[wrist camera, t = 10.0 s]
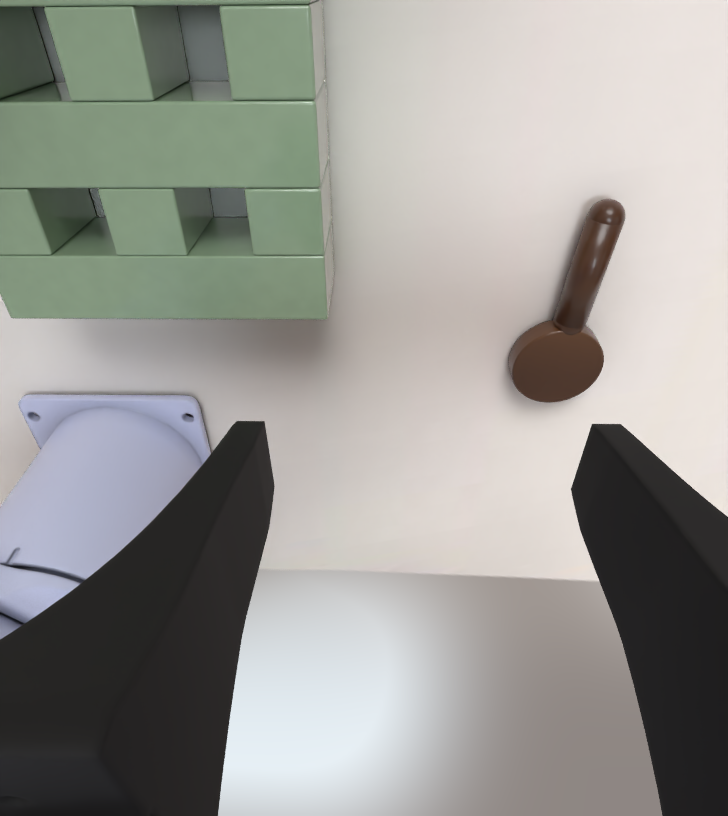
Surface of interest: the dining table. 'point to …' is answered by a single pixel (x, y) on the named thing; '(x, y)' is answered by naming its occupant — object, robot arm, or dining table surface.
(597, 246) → the walnut spoon
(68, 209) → the utensil stand
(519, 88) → the dining table surface
